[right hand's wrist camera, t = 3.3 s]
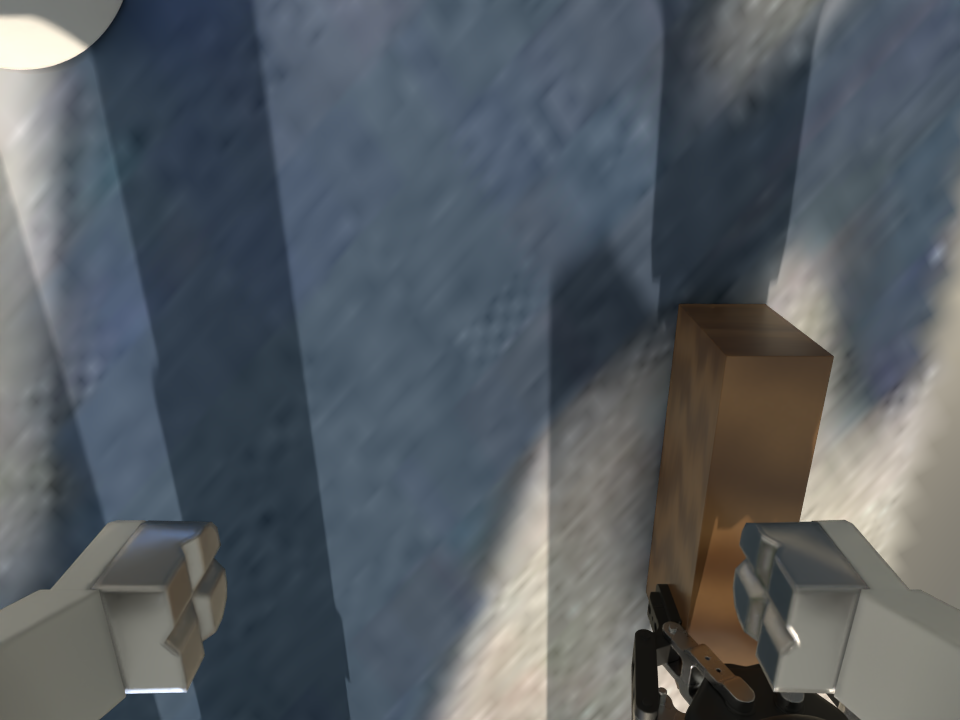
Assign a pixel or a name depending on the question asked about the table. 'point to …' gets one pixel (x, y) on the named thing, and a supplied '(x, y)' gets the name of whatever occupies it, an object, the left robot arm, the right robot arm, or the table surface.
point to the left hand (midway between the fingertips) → (705, 594)
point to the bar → (731, 456)
